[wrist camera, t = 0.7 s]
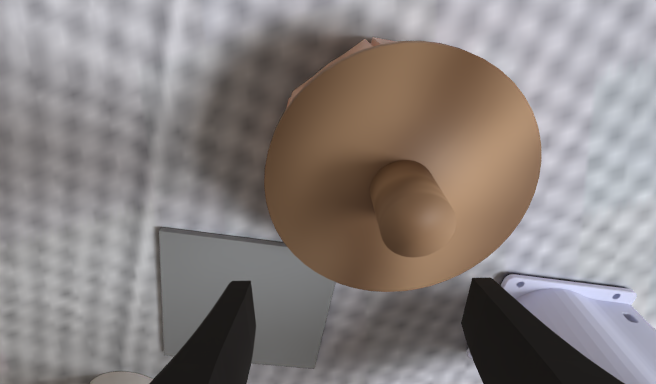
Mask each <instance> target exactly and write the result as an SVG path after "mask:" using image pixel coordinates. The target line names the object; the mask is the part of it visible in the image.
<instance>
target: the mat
mask: <svg viewBox="0 0 656 384" xmlns="http://www.w3.org/2000/svg"><path fill="white" fill-rule="evenodd" d="M159 244H160V269H161V293H162V318H163V342H164V355H165V356H175V355H176V354H177V353H178V352H179V350H180V349H181V348H182V347H183V346H184V344H185V343H186V342H187V341H188V340H189V338H190V337H191V336H192V335H193V333H194V332H195V331H196V330H197V328H198V327H199V326H200V324H201V323H202V322H203V320H204V319H205V318H206V316H207V315H208V314H209V312H210V311H211V309H212V308H213V307H214V305H215V304H216V302H217V301H218V299H219V298H220V297H221V295H222V293H223V292H224V290H225V289H226V287H227V286H228V284H229V283H230V282H231V281H251V285H252V294H253V302H254V311H255V319H256V333H255V341H254V349H253V357H252V361H251V363H253V364H264V365H275V366H286V367H297V368H308V369H314V368H315V364H316V360H317V356H318V351H319V347H320V343H321V339H322V335H323V331H324V327H325V323H326V319H327V315H328V311H329V307H330V303H331V299H332V295H333V291H334V287H335V283H336V282H335V281H332V280H330V279H327V278H326V277H324V276H322V275H320V274H318V273H316V272H315V271H313V270H312V269H311V268H309V267H308V266H306V265H305V264H304V263H302V262H301V261H300V260H299V259H298V258H297V257H296V256H295V255H294V254H293V253H292V252H291V251H290V249H289V248H288V247H287V246H286V245H285V243H282V242H275V241H267V240H259V239H251V238H243V237H235V236H227V235H220V234H212V233H204V232H196V231H188V230H180V229H172V228H165V227H161V229H160V230H159Z"/></svg>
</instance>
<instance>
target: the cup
mask: <svg viewBox="0 0 656 384" xmlns="http://www.w3.org/2000/svg"><path fill="white" fill-rule="evenodd" d="M152 380H153V379H151V378H149V377H147V376H144V375H141V374H137V373H132V372H123V371H118V372H109V373H105V374H102V375H99V376H97V377H96V378H94V379H93V380H92V381H91V382H90V384H149V383H150V382H151V381H152Z"/></svg>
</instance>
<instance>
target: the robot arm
mask: <svg viewBox="0 0 656 384" xmlns="http://www.w3.org/2000/svg"><path fill="white" fill-rule="evenodd" d="M518 282H520V283H518ZM636 297H637V294H636V293H635V292H634V291H633V290H632V289H626V288H618V287H611V286H603V285H595V284H587V283H579V282H571V281H563V280H555V279H547V278H539V277H532V276H524V275H516V274H511V275H508V276H506V277H505V278H504V280H503V282H502V284H501V286H500V285H499V284H498V283H497V282H495V281H494V280H493V279H492V278H472V282H471V286H470V290H469V294H468V298H467V302H466V306H465V310H464V314H463V318H462V322H461V324H462V327H463V331H464V334H465V338H466V341H467V344H468V349H467V355H468V357H469V358H471V359H473V361H474V363H475V365H476V368H477V370H478V372H479V375H480V377H481V379H482V381H483V384H656V330H655V329H654V328H653V327H652V326H651V325H650V324H649V323H648V322H647V321H646V320H645V319H644V318H643V317H642V316H641V315H640V314H639V313H638V312H637V311H636V310H635V309H634V308H633V307H632V306H631V304H632V303H633V302H634V300H635V299H636ZM255 333H256V319H255V311H254V302H253V294H252V285H251V281H231V282H230V283H229V284H228V286H227V287H226V289H225V290H224V292H223V293H222V295H221V297H220V298H219V299H218V301H217V302H216V304H215V305H214V307H213V308H212V309H211V311H210V312H209V314H208V315H207V316H206V318H205V319H204V320H203V322H202V323H201V324H200V326H199V327H198V328H197V330H196V331H195V332H194V333H193V335H192V336H191V337H190V338H189V340H188V341H187V342H186V343H185V344H184V346H183V347H182V348H181V349H180V350H179V352H178V353H177V354H176V355H175V356H174V357H173V359H172V360H171V361H170V362H169V363H168V364H167V365H166V366H165V367H164V369H163V370H162V371H161V372H160V373H159V374H158V375H157V376H156V377H155V378H154V379H153V380H152V381H151V382H150V383H149V384H246V383H247V379H248V374H249V370H250V366H251V361H252V357H253V349H254V341H255Z"/></svg>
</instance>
